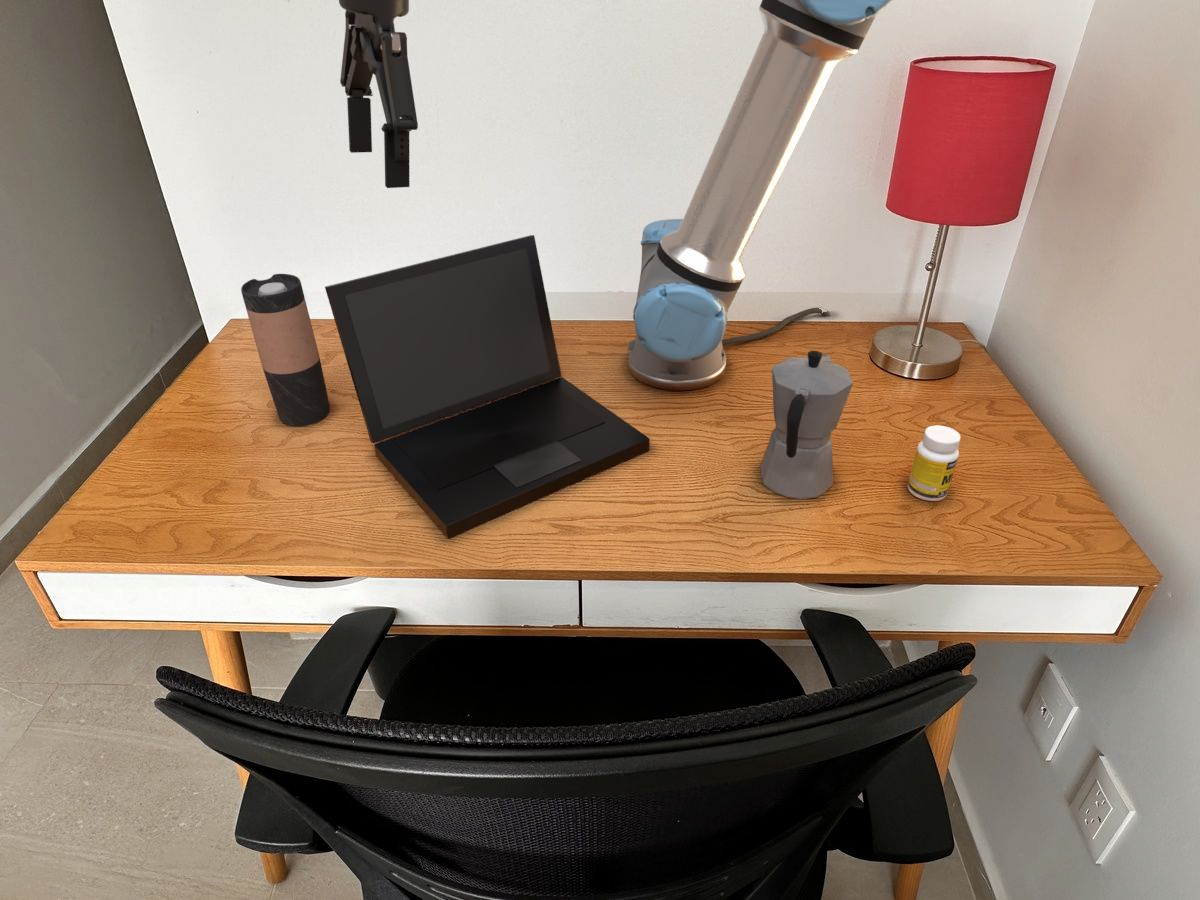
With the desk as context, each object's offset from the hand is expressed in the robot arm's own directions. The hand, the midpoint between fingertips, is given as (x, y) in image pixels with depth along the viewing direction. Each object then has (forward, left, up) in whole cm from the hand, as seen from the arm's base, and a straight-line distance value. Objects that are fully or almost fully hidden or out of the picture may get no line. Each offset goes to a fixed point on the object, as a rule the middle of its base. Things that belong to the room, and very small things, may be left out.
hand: (378, 168), depth 99 cm
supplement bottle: (-41, +58, -34) cm, 79 cm away
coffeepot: (-29, +47, -34) cm, 65 cm away
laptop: (-4, +20, -34) cm, 40 cm away
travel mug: (+15, -7, -34) cm, 38 cm away
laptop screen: (-4, +7, -22) cm, 23 cm away
